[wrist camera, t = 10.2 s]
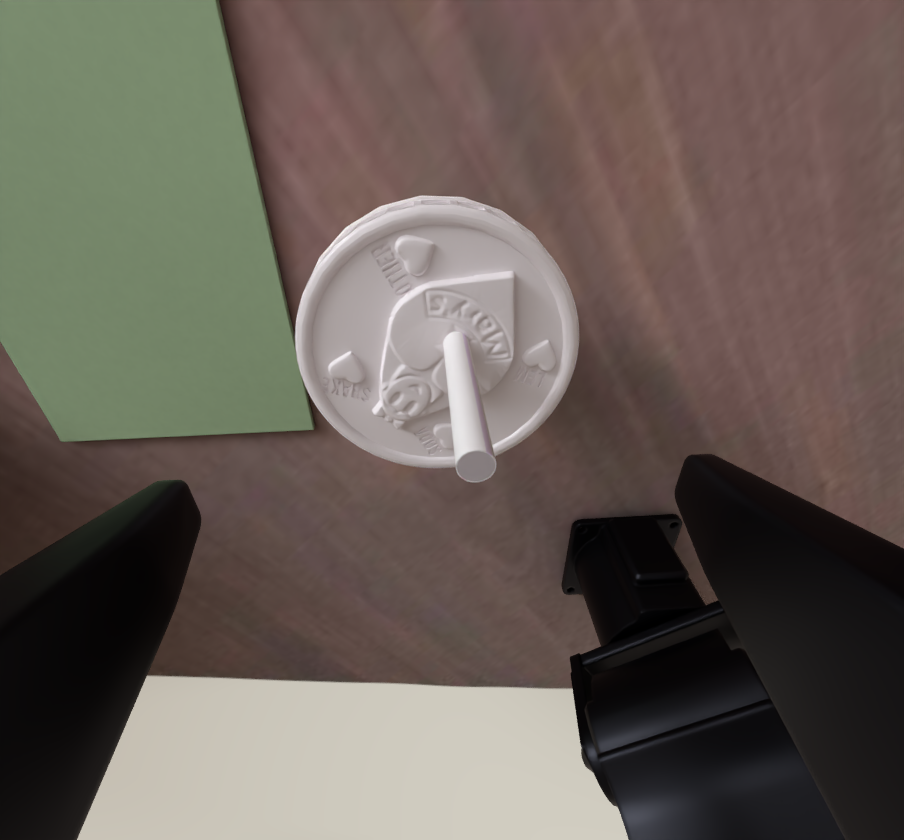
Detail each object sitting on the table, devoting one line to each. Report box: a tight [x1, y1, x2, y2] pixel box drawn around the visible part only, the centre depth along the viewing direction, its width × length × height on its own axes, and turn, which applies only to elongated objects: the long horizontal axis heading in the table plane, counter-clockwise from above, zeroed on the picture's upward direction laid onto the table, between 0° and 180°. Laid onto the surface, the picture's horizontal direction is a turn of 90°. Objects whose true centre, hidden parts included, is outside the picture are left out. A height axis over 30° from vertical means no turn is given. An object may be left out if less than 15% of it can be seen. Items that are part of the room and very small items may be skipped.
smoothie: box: [295, 196, 579, 482], centre depth 12 cm, size 6×6×14 cm
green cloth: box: [0, 0, 315, 442], centre depth 16 cm, size 21×12×1 cm, turn 1°
